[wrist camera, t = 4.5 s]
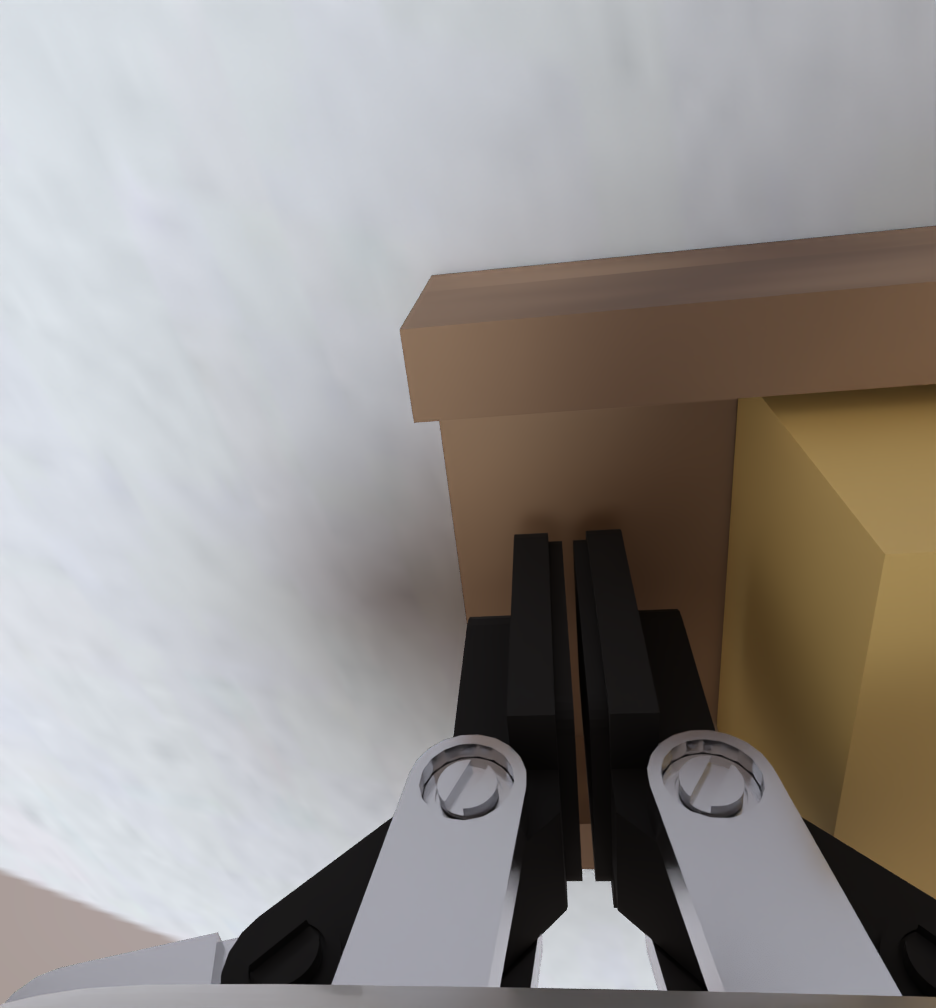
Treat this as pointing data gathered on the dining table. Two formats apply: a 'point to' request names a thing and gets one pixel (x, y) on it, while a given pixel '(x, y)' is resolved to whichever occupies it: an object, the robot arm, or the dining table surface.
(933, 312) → the wooden tray
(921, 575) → the block
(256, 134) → the dining table surface
